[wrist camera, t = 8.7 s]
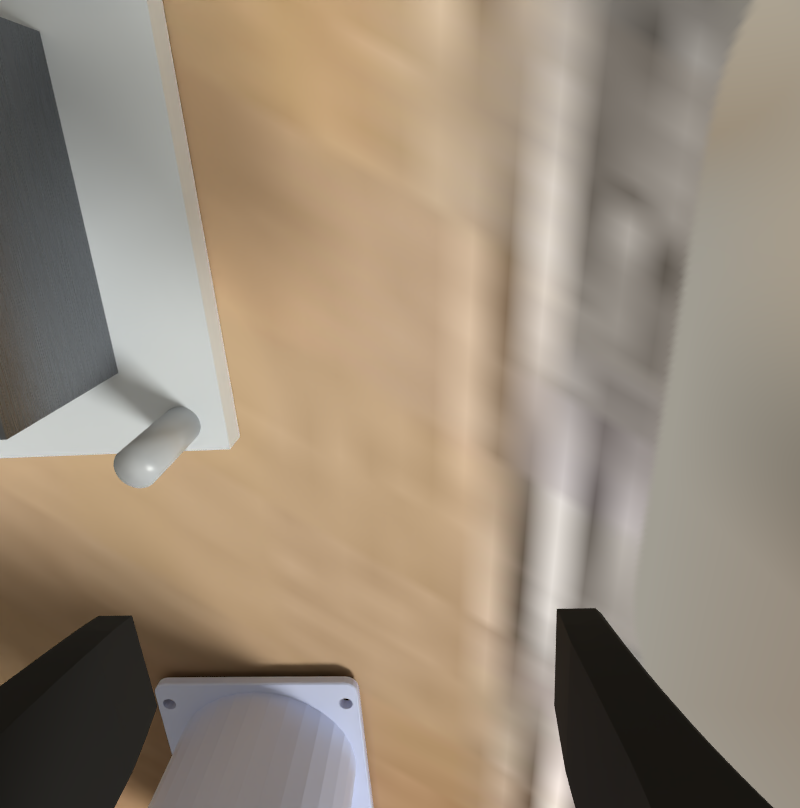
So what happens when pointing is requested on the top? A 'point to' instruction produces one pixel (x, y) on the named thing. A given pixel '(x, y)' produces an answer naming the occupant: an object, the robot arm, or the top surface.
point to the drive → (42, 250)
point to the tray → (133, 243)
